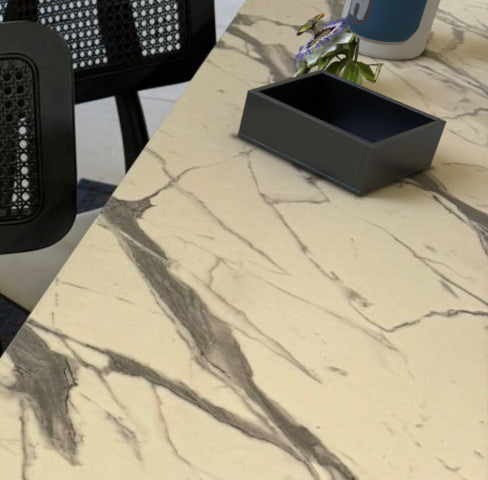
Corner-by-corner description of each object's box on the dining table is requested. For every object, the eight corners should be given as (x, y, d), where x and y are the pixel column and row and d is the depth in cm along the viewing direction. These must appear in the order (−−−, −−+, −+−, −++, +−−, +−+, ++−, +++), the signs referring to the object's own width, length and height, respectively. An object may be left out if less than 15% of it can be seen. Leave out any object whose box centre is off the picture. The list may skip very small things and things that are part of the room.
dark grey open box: (429, 170, 118) (447, 121, 114) (357, 198, 111) (374, 147, 107) (308, 115, 128) (321, 68, 124) (236, 138, 121) (247, 90, 117)
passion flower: (288, 123, 139) (291, 31, 138) (372, 119, 137) (376, 26, 136) (293, 101, 128) (296, 1, 127) (384, 97, 126) (388, -5, 125)
